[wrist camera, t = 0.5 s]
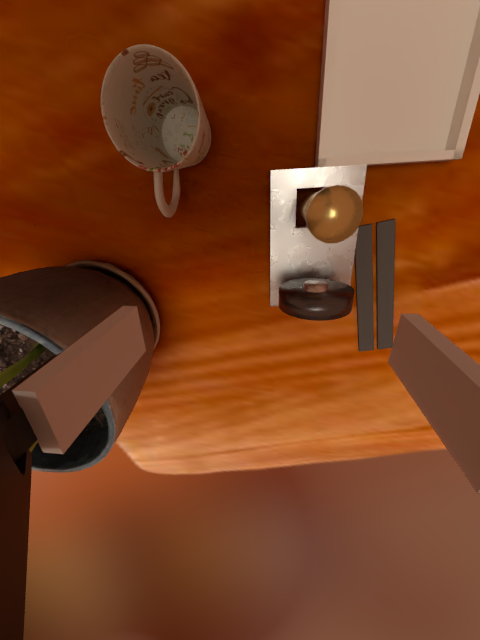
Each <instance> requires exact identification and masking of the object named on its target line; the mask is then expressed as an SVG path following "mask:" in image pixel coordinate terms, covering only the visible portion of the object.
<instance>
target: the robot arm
mask: <svg viewBox="0 0 480 640" xmlns="http://www.w3.org/2000/svg"><path fill="white" fill-rule="evenodd" d="M145 351H146V348H145V343H144V339H143V334H142V329H141V324H140V319H139V314H138V309H137V306H122V307H121V308H120V309H118V310H117V311H116V312H114V313H113V314H112V315H110V316H109V317H108V318H106V319H105V320H104V321H102V322H101V323H100V324H99V325H97V326H96V327H95V328H93V329H92V330H91V331H89V332H88V333H87V334H85V335H84V336H83V337H81V338H80V339H79V340H78V341H76V342H75V343H74V344H72V345H71V346H70V347H68V348H67V349H66V350H64V351H63V352H61V353H59V354H57V355H55V356H53V357H51V358H49V359H48V360H47V361H45V362H44V363H43V364H41V365H40V367H37V368H36V369H35V370H33V371H32V372H31V374H28V375H27V376H25V377H24V378H23V379H21V380H20V381H18V382H17V383H16V384H14V385H13V386H12V387H10V388H9V389H8V390H6V391H5V392H4V393H2V394H1V395H0V640H23V633H24V614H25V592H26V573H27V552H28V531H29V511H30V510H29V509H30V489H31V470H32V455H31V452H30V450H29V448H30V447H31V446H32V445H33V444H34V443H35V442H36V441H38V443H39V445H40V447H41V449H42V451H43V452H45V453H56V454H64V453H65V452H66V450H67V449H68V448H69V447H70V445H71V444H72V443H73V442H74V440H75V439H76V438H77V437H78V435H79V434H80V433H81V432H82V430H83V429H84V428H85V427H86V425H87V424H88V423H89V422H90V420H91V419H92V418H93V417H94V415H95V414H96V413H97V412H98V410H99V409H100V408H101V406H102V405H103V404H104V403H105V401H106V400H107V399H108V398H109V396H110V395H111V394H112V393H113V391H114V390H115V389H116V388H117V386H118V385H119V384H120V383H121V381H122V380H123V379H124V378H125V376H126V375H127V374H128V373H129V371H130V370H131V369H132V368H133V366H134V365H135V364H136V363H137V361H138V360H139V359H140V358H141V356H142V355H143V354H144V353H145ZM388 363H389V364H390V366H391V367H392V369H393V370H394V372H395V373H396V374H397V376H398V377H399V379H400V380H401V382H402V383H403V385H404V386H405V388H406V389H407V391H408V392H409V394H410V395H411V397H412V398H413V399H414V401H415V402H416V404H417V405H418V407H419V408H420V410H421V411H422V413H423V414H424V416H425V417H426V419H427V420H428V422H429V423H430V424H431V426H432V427H433V429H434V430H435V432H436V433H437V435H438V436H439V438H440V439H441V441H442V442H443V444H444V445H445V446H446V448H447V449H448V451H449V452H450V454H451V455H452V457H453V458H454V460H455V461H456V463H457V464H458V466H459V467H460V468H461V470H462V471H463V473H464V474H465V476H466V477H467V479H468V480H469V482H470V483H471V485H472V486H473V488H474V489H475V490H476V492H477V493H480V365H479V364H478V363H477V362H475V361H474V360H473V359H472V358H471V357H469V356H468V355H467V354H466V353H465V352H463V351H462V350H461V349H460V348H459V347H457V346H456V345H455V344H454V343H453V342H451V341H450V340H449V339H448V338H447V337H446V336H444V335H443V334H442V333H441V332H440V331H438V330H437V329H436V328H435V327H434V326H432V325H431V324H430V323H429V322H428V321H426V320H425V319H424V318H423V317H422V316H420V315H419V314H401V317H400V320H399V324H398V328H397V331H396V335H395V339H394V342H393V346H392V350H391V353H390V357H389V361H388Z"/></svg>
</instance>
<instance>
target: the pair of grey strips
mask: <svg viewBox="0 0 480 640" xmlns="http://www.w3.org/2000/svg"><path fill="white" fill-rule="evenodd" d="M394 257H395V219H392V220H387V221H382V222H377V223H376V276H377V348H378V349H384V348H392V346H393V307H394ZM355 274H356V298H357V322H358V346H359V351H367V350H374V335H373V265H372V224H367V225H363V226H359V227H358V233H357V240H356V248H355Z"/></svg>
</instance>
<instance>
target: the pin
mask: <svg viewBox="0 0 480 640" xmlns="http://www.w3.org/2000/svg"><path fill="white" fill-rule="evenodd" d="M299 213H300V215H301V217H302V218H303V219H304V220H306V225H307V227H308V230H309V231H310V233H311V234H312V235H313V236H314V237H315V238H316V239H318V240H319V241H321V242H324V243H338V242H341V241H344V240H346V239H347V238H349V237H350V236H351V235H352V234H353V233H354V232H355V231H356V230H357V229H358V227H359V225H360V223H361V221H362V217H363V203H362V200H361V198H360V196H359V195H358V193H357V192H356V191H355V190H353V189H352V188H350V187H347V186H343V185H335V186H329V187H326V188H324V189H322V190H320V191H319V192H312V193H308V194H306V195H305V196H304V197H303V198H302V199H301V201H300V203H299Z"/></svg>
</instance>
